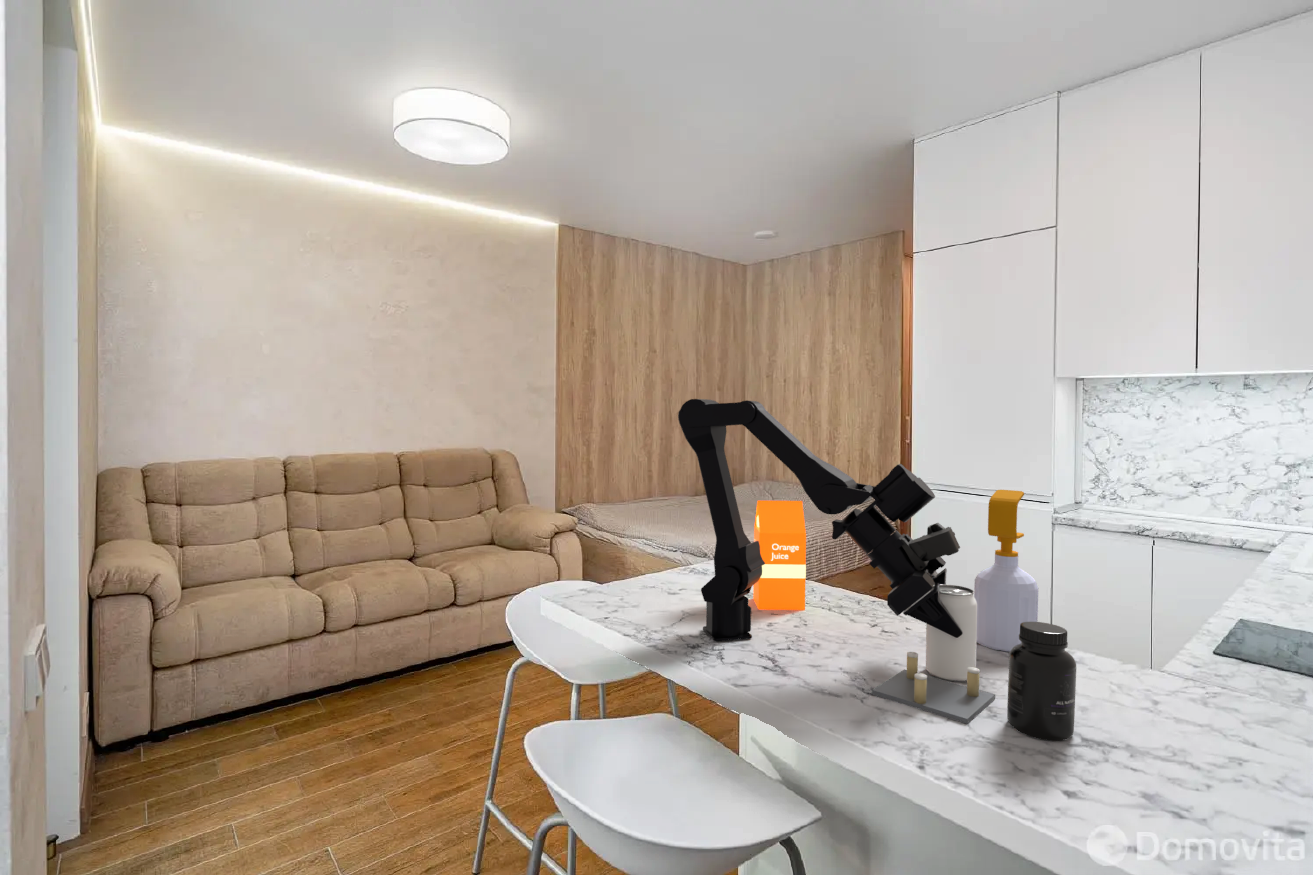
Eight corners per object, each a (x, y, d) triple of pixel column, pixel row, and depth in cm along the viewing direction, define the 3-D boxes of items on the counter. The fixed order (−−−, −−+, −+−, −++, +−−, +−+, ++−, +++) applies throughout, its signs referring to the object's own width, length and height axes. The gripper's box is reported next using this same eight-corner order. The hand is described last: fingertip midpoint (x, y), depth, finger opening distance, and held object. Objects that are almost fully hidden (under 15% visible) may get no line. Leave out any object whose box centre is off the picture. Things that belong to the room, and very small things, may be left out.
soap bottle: (1043, 643, 109) (1047, 491, 108) (1027, 657, 102) (1031, 495, 101) (983, 630, 115) (987, 486, 114) (965, 643, 108) (968, 490, 107)
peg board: (871, 694, 88) (872, 664, 88) (904, 673, 95) (904, 646, 95) (967, 723, 80) (968, 691, 80) (995, 698, 87) (995, 668, 87)
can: (983, 682, 92) (986, 595, 92) (936, 682, 92) (938, 595, 92) (963, 665, 99) (965, 583, 98) (918, 664, 99) (920, 583, 98)
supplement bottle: (1074, 748, 74) (1077, 640, 74) (1004, 732, 78) (1007, 629, 77) (1074, 724, 80) (1077, 624, 80) (1009, 711, 84) (1012, 614, 83)
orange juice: (805, 610, 126) (807, 503, 125) (758, 609, 126) (759, 503, 126) (797, 598, 134) (798, 498, 133) (752, 598, 134) (753, 498, 133)
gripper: (914, 515, 88) (1007, 611, 84) (931, 500, 105) (1010, 579, 100) (852, 568, 92) (937, 662, 88) (878, 545, 109) (950, 624, 104)
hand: (962, 628), depth 95 cm, fingers closed on can, 6 cm apart
